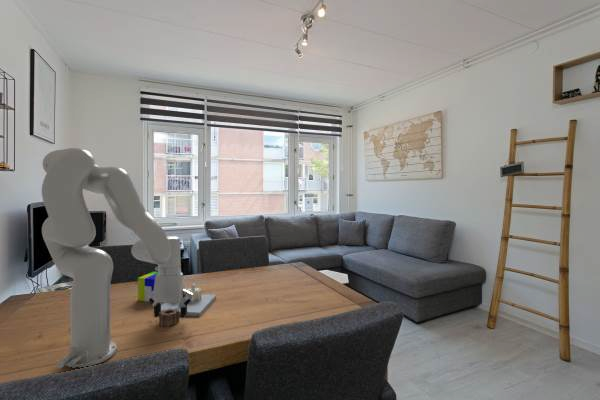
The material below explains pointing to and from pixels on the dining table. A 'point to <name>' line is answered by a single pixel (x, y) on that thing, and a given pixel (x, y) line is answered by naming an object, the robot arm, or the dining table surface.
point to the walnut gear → (169, 317)
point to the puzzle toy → (146, 285)
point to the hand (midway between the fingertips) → (170, 316)
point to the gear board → (193, 303)
